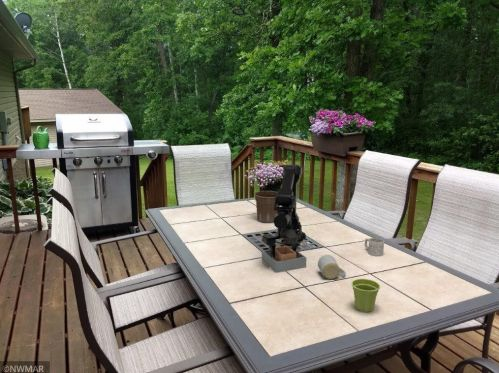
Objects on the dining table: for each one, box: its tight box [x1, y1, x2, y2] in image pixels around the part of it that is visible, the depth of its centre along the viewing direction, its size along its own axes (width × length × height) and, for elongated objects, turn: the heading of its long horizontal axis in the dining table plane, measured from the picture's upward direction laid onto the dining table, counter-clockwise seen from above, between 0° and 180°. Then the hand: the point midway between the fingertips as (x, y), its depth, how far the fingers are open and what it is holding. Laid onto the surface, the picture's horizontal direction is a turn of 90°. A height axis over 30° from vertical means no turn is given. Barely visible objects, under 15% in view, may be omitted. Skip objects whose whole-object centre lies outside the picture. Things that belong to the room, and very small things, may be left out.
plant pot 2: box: [351, 278, 381, 313], centre depth 134 cm, size 9×9×9 cm
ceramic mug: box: [317, 254, 347, 280], centre depth 160 cm, size 11×8×8 cm
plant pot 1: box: [254, 190, 278, 224], centre depth 233 cm, size 16×16×16 cm
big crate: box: [261, 246, 307, 274], centre depth 172 cm, size 14×14×5 cm
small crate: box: [272, 245, 296, 262], centre depth 172 cm, size 7×9×6 cm
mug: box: [364, 237, 385, 257], centre depth 184 cm, size 10×7×7 cm, turn 31°
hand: (283, 256), depth 171 cm, fingers open, 9 cm apart
